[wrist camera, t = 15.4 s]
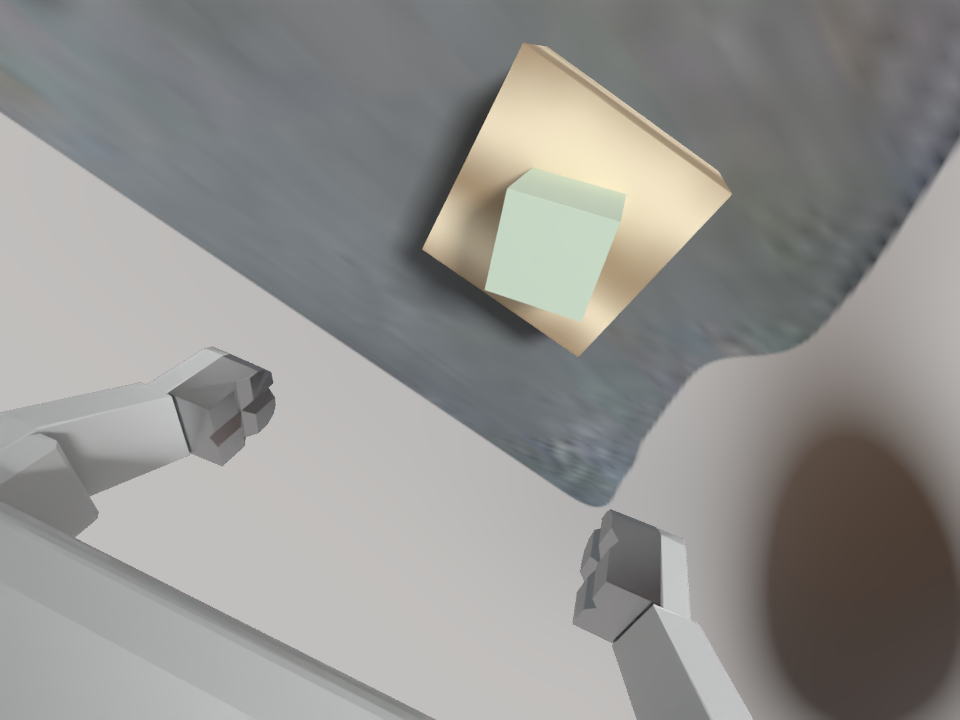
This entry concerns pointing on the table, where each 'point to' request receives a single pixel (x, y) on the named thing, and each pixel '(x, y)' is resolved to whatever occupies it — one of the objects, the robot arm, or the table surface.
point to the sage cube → (553, 241)
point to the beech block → (584, 157)
